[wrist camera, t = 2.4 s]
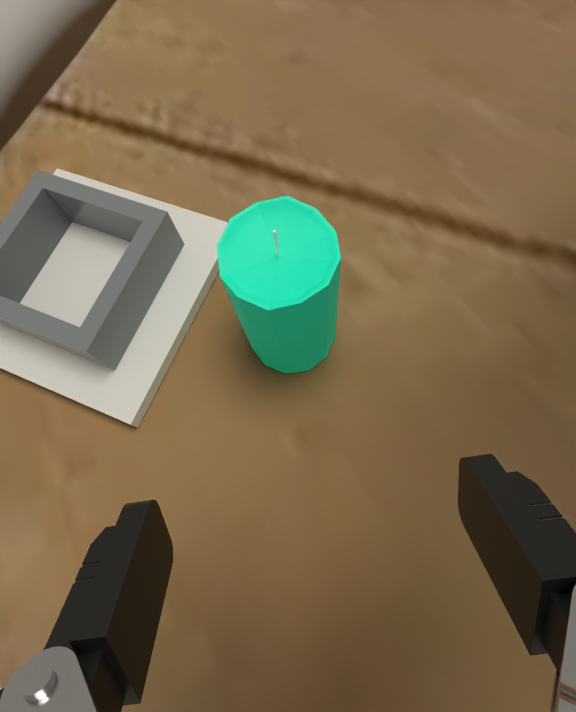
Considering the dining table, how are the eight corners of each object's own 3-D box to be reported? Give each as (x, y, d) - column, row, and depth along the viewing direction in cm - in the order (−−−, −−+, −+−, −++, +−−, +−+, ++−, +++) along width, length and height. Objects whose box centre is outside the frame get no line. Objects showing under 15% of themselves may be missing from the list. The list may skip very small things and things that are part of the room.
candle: (257, 289, 32) (221, 171, 21) (339, 298, 31) (349, 180, 20) (242, 368, 30) (194, 284, 19) (329, 379, 29) (334, 299, 18)
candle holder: (65, 178, 37) (27, 130, 32) (237, 234, 34) (223, 189, 29) (-49, 346, 32) (-112, 319, 28) (138, 427, 29) (102, 412, 25)
